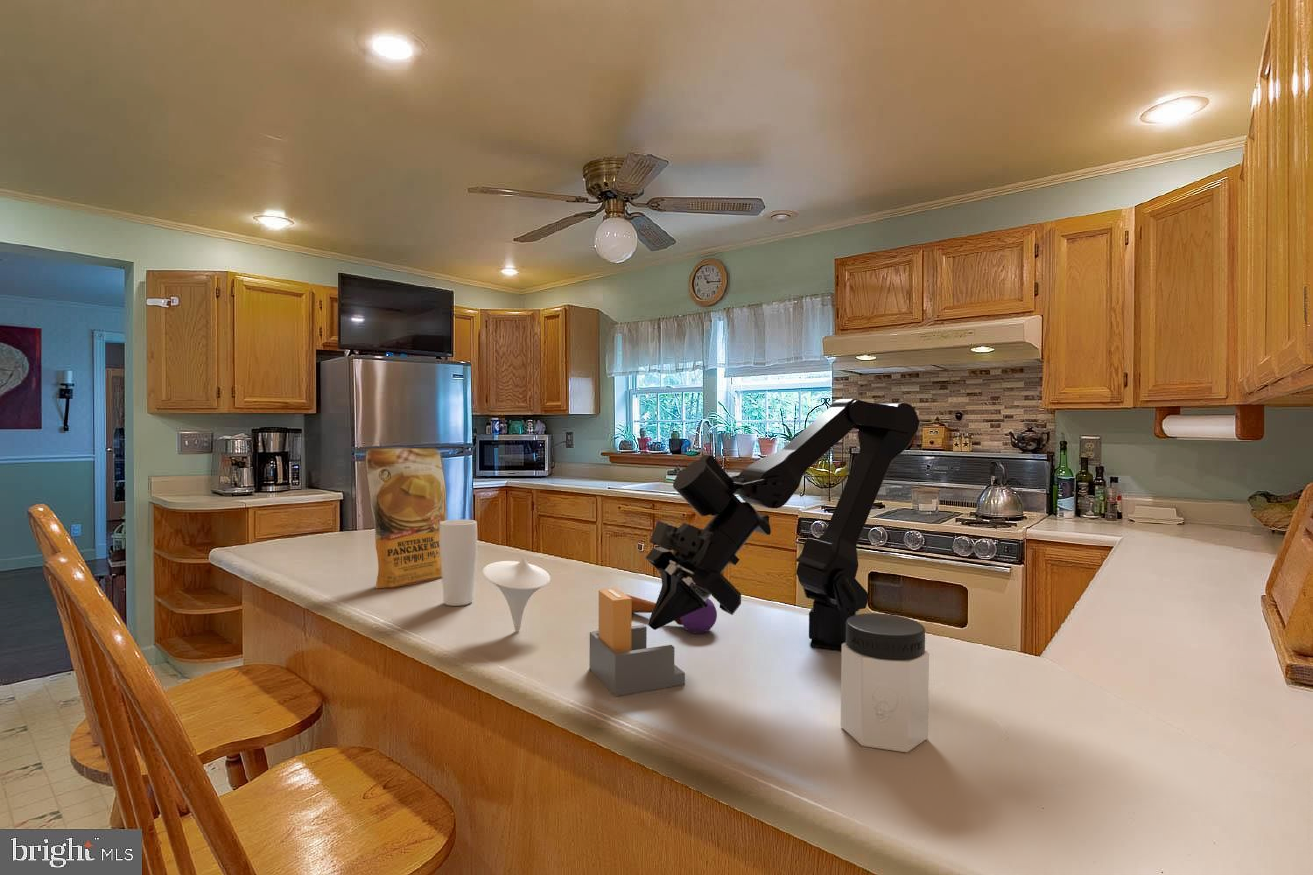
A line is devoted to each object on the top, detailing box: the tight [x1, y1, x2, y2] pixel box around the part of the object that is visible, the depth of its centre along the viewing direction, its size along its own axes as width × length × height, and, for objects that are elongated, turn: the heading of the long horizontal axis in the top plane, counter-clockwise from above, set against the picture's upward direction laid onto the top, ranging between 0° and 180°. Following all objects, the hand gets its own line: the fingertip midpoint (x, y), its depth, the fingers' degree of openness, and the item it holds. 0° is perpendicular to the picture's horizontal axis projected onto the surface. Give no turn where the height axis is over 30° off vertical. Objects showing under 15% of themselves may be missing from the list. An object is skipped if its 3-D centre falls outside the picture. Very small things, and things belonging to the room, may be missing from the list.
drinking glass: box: [439, 518, 478, 607], centre depth 122 cm, size 7×7×15 cm
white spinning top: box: [482, 557, 551, 633], centre depth 106 cm, size 10×11×12 cm
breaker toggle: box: [598, 587, 633, 653], centre depth 86 cm, size 2×6×10 cm, turn 24°
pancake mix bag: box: [364, 447, 448, 589], centre depth 138 cm, size 7×19×28 cm, turn 142°
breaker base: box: [588, 624, 686, 697], centre depth 87 cm, size 10×10×5 cm
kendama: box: [626, 594, 718, 634], centre depth 111 cm, size 6×6×20 cm
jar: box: [840, 612, 930, 754], centre depth 72 cm, size 9×8×12 cm
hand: (650, 627), depth 88 cm, fingers closed
